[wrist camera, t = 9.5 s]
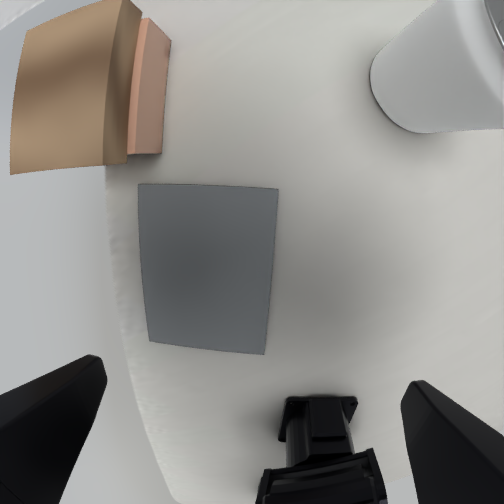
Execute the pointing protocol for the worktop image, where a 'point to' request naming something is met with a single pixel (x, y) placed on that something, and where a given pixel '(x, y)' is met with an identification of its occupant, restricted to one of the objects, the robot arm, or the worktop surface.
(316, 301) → the worktop surface
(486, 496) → the robot arm
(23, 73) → the lid
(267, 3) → the worktop surface
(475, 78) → the can
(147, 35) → the pink square box
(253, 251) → the mat
